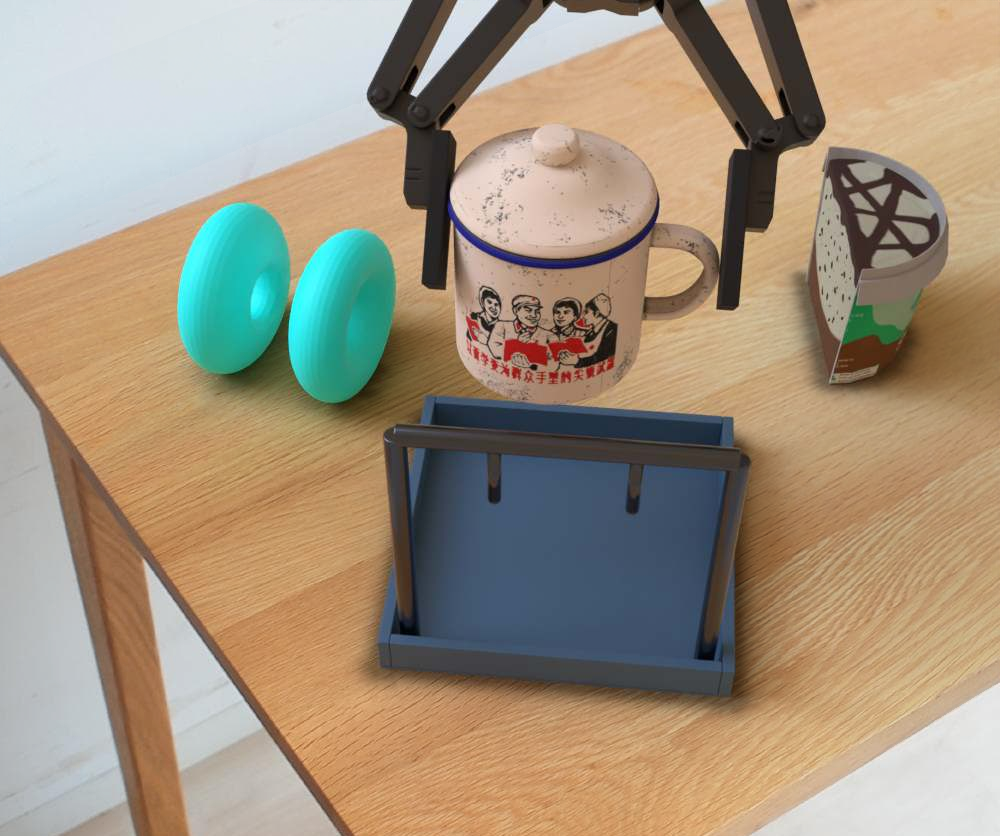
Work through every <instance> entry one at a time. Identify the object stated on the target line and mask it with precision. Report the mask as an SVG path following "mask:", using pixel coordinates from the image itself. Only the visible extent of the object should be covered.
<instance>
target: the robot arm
mask: <svg viewBox="0 0 1000 836" xmlns="http://www.w3.org/2000/svg"><path fill="white" fill-rule="evenodd" d="M458 1H459V0H411V2H410V4H409V5H408V7H407V10H406V11H405V13H404V15H403V18H402V20H401V22H400V24H399V26H398V27H397V29H396V31H395V34H394V36H393V38H392V39H391V42H390V44H389V45H388V48H387V50H386V51H385V54H384V56H383V57H382V59H381V62H380V63H379V65H378V68H377V70H376V72H375V73H374V75H373V77H372V80H371V82H370V83H369V86H368V87H367V90H366V100H367V102H368V104H369V105H370V107H371V108H372V109H373V111H374V112H375V113H376V114H377V116H378V117H379V118H381V119H382V120H384V121H390V122H392V123H394V124H396V125H399V126H400V127H401V128H403V129H405V132H406V147H405V162H404V174H403V188H402V193H403V197H404V200H405V203H406V206H408V207H409V208H410V209H411V210H419V211H426V215H425V229H424V239H423V240H424V241H423V242H424V243H423V255H422V267H421V268H422V270H421V285H422V286H424V287H425V288H427V289H428V290H436V291H446V290H447V279H448V278H447V277H448V264H449V254H450V253H449V251H450V238H451V228H452V227H451V225H452V220H451V218H450V215H449V212H448V207H447V194H448V189H449V185H450V183H451V180H452V178H453V175H454V173H455V171H456V159H457V146H458V142H457V140H456V138H455V136H454V135H453V132H452V131H451V130H450V129H444V128H445V126H446V125H447V124H448V123H449V122H450V120H451V119H452V118H453V117H454V116H455V114H456V113H458V111H459V110H460V109H461V108H462V107H463V105H464V104H465V103H466V102H467V100H468V99H469V98H470V97H471V96H472V95H473V94H474V93H475V91H476V90H477V89H478V87H479V86H480V85H481V84H482V83H483V82H484V80H485V79H486V78H487V77H488V76H489V75H490V74H491V72H492V71H493V70H494V69H495V68H496V67H497V65H498V64H499V63H500V62H501V60H502V59H503V58H504V57H505V56H506V55H507V53H508V52H509V51H510V50H511V49H512V48H513V46H514V45H515V44H516V43H517V42H518V41H519V39H521V37H522V36H523V34H524V33H525V32H526V31H527V30H528V29H529V28H530V27H531V26H532V25H533V24H535V23H536V22H538V21H539V20H540V18H542V16H543V15H544V14H545V13H546V11H547V10H548V9H549V8H550V7H551V6H552V4H553V3H555V4H557V5H558V6H560V7H562V8H564V9H566V13H575V14H576V13H577V14H587V13H592V12H597V11H602V10H604V11H607V12H610V13H613V14H616V15H619V16H624V17H625V16H628V17H639V13H643V12H646V11H649V10H650V9H653V8H654V9H655V11H656V12H657V14H658V15H659V17H660V19H661V20H662V22H663V23H664V25H665V27H666V28H667V30H669V32H671V33H672V34H673V36H674V37H675V39H676V40H677V42H678V44H679V45H680V47H681V48H682V50H683V52H684V53H685V55H686V56H687V58H688V60H689V61H690V62H691V64H692V66H693V67H694V69H695V70H696V72H697V73H698V75H699V77H700V78H701V80H702V81H703V83H704V84H705V86H706V87H707V89H708V91H709V92H710V94H711V96H712V97H713V99H714V101H715V102H716V104H717V105H718V107H719V108H720V110H721V111H722V113H723V115H724V117H725V118H726V119H727V121H728V123H729V124H730V127H732V129H733V130H734V132H735V134H736V136H737V137H738V138H739V140H740V141H741V144H742V145H743V147H744V148H734V149H733V150H732V153H731V155H730V157H729V158H728V164H727V175H726V176H727V177H726V190H725V201H724V212H723V222H722V224H723V225H722V235H721V236H722V237H721V246H720V247H721V248H720V257H719V259H720V269H719V277H718V280H717V293H716V294H717V295H716V306H715V310H716V311H729V312H734V311H735V310H736V309H738V308H739V307H740V299H741V287H742V276H743V275H742V274H743V265H744V264H743V263H744V251H745V239H746V233H756V234H757V233H758V234H764V233H765V232H767V230H768V229H769V226H770V224H771V222H772V220H773V218H774V210H775V199H776V187H777V175H778V165H779V157H780V156H782V155H783V154H784V153H786V152H788V151H791V150H794V149H795V150H796V149H798V148H807V147H809V146H811V145H813V144H814V143H815V142H816V140H817V139H818V138H819V137H820V135H821V134H822V133H823V131H824V130H825V128H826V124H827V118H826V114H825V111H824V109H823V105H822V102H821V99H820V96H819V92H818V90H817V87H816V84H815V81H814V78H813V75H812V71H811V69H810V65H809V63H808V59H807V57H806V54H805V50H804V47H803V44H802V42H801V41H802V40H801V39H800V35H799V33H798V32H799V31H798V29H797V26H796V23H795V21H794V16H793V14H792V11H791V8H790V5H789V2H788V0H744V2H745V4H746V8H747V11H748V15H749V16H750V21H751V23H752V26H753V29H754V32H755V35H756V38H757V42H758V44H759V47H760V50H761V53H762V56H763V59H764V62H765V65H766V68H767V71H768V75H769V78H770V80H771V84H772V87H773V89H774V93H775V96H776V98H777V102H778V105H779V108H780V111H781V114H782V116H781V117H779V118H775V117H774V116H773V115H772V113H771V111H770V110H769V108H768V106H767V105H766V104H765V102H764V100H763V99H762V97H761V95H760V94H759V92H758V91H757V90H756V88H755V87H754V86H755V85H753V83H752V82H751V80H750V78H749V76H748V75H747V73H746V71H745V70H744V69H743V67H742V66H741V64H740V62H739V61H738V59H737V57H736V56H735V54H734V52H733V51H732V49H731V48H730V46H729V44H728V43H727V42H726V40H725V39H724V37H723V35H722V34H721V32H720V31H719V29H718V27H717V26H716V24H715V23H714V21H713V19H712V18H711V16H710V15H709V14H708V11H707V10H706V8H705V7H704V5H703V3H702V1H701V0H497V1H496V2H495V3H494V4H493V5H492V6H491V8H490V9H489V10H488V11H487V13H486V14H485V15H484V17H482V19H481V20H479V22H478V24H477V25H476V26H475V27H474V28H473V29H472V31H470V33H469V34H468V35H467V36H466V37H465V39H464V40H463V41H462V42H461V44H459V46H458V47H457V48H456V50H455V51H454V52H453V53H452V54H451V55H450V57H448V59H446V61H445V62H444V64H443V65H442V66H441V67H440V69H438V71H436V73H435V74H434V76H433V77H432V78H431V79H430V80H429V81H428V83H426V84H425V86H424V87H423V89H422V90H421V91H420V92H419V93H418V95H416V96H415V95H413V94H412V92H413V90H414V88H415V86H416V84H417V82H418V80H419V78H420V76H421V74H422V73H423V70H424V68H425V66H426V64H427V62H428V61H429V59H430V57H431V55H432V52H433V50H434V49H435V46H436V44H437V43H438V40H439V38H440V36H441V35H442V33H443V30H444V28H445V26H446V24H447V22H448V20H449V18H450V16H451V15H452V13H453V11H454V9H455V7H456V5H457V2H458Z"/></svg>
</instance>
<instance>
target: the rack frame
mask: <svg viewBox="0 0 1000 836" xmlns="http://www.w3.org/2000/svg"><path fill="white" fill-rule="evenodd" d="M382 442H383V443H382V444H383V454H384V467H385V476H386V488H387V500H388V501H387V502H388V511H389V512H388V513H389V523H390V534H391V545H392V547H391V548H392V556H393V557H392V558H393V559H394V570H395V581H396V593H397V604H398V615H399V627H400V635H410V636H421V634H420V620H419V605H418V591H417V577H416V562H415V548H414V534H413V519H412V505H411V491H410V465H409V464H410V463H409V449H408V448H410V449H411V448H412V449H415V448H423V449H436V450H449V451H463V452H476V453H487V493H488V501H489V502H490V503H491V504H498V503H499V502H500V501H501V454H503V455H516V456H529V457H543V458H556V459H570V460H583V461H596V462H610V463H623V464H630V465H629V475H628V485H627V495H626V506H625V510H626V512H627V513H628V514H630V515H635V514H637V513H638V511H639V506H640V497H641V487H642V478H643V469H644V465H650V466H663V467H676V468H690V469H703V470H717V471H725V477H724V483H723V489H722V495H721V500H720V506H719V512H718V518H717V524H716V530H715V535H714V541H713V547H712V553H711V559H710V564H709V570H708V576H707V582H706V588H705V593H704V599H703V605H702V611H701V617H700V623H699V628H698V634H697V640H696V646H695V652H694V657H693V659H697V660H709V661H714V658H715V653H716V648H717V643H718V638H719V632H720V627H721V622H722V617H723V611H724V606H725V601H726V596H727V590H728V585H729V580H730V575H731V569H732V564H733V559H734V560H735V554H736V549H737V542H738V537H739V532H740V527H741V522H742V518H743V517H742V516H743V511H744V506H745V501H746V496H747V490H748V485H749V479H750V474H751V470H752V469H751V468H752V464H753V462H752V459H751V457H750V456H749V455H748V454H747V453H744V452H742V450H741V447H735V446H734V447H720V446H707V445H693V444H680V443H666V442H652V441H639V440H625V439H612V438H598V437H585V436H571V435H557V434H544V433H530V432H517V431H503V430H490V429H476V428H462V427H449V426H435V425H422V424H420V423H409V422H407V423H406V422H395V424H394V425H393V426H391V427H388V428H387V429H386V430H385V431H383V434H382Z"/></svg>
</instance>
